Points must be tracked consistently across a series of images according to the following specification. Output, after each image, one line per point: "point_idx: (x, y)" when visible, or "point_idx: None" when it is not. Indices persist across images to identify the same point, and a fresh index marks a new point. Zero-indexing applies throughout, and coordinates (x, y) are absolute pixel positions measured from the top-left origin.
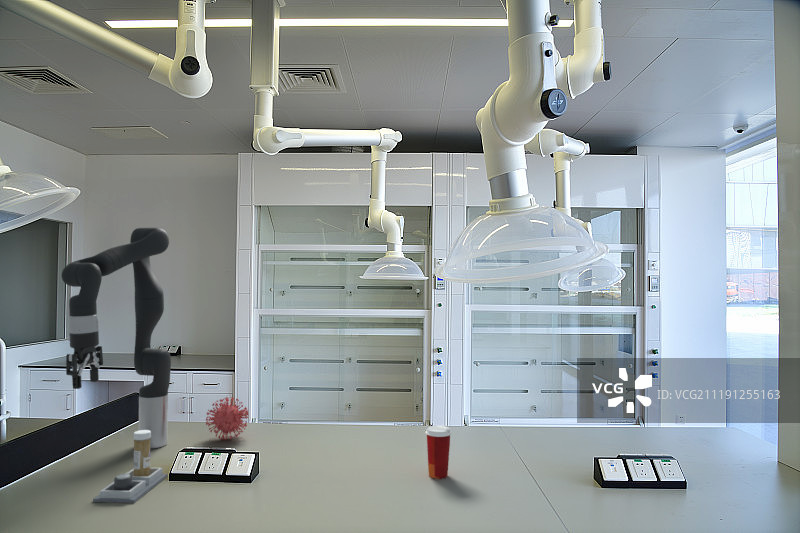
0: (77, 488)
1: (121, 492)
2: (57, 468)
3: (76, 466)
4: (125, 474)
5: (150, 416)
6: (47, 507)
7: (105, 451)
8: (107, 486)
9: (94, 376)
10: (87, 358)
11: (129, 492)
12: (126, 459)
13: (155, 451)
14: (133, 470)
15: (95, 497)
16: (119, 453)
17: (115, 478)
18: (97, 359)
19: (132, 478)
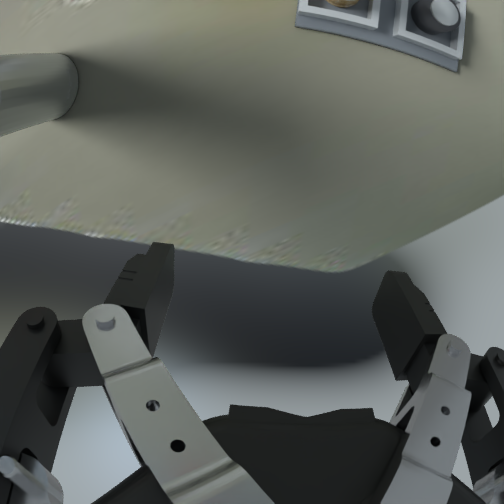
0: (374, 125)
1: (464, 16)
2: (225, 229)
3: (211, 192)
4: (438, 7)
5: (22, 80)
6: (464, 151)
7: (100, 176)
8: (438, 47)
9: (165, 285)
10: (430, 473)
11: (465, 1)
12: (156, 90)
13: (95, 51)
14: (325, 9)
15: (450, 68)
16: (111, 133)
17: (449, 28)
18: (123, 402)
19: (379, 2)
